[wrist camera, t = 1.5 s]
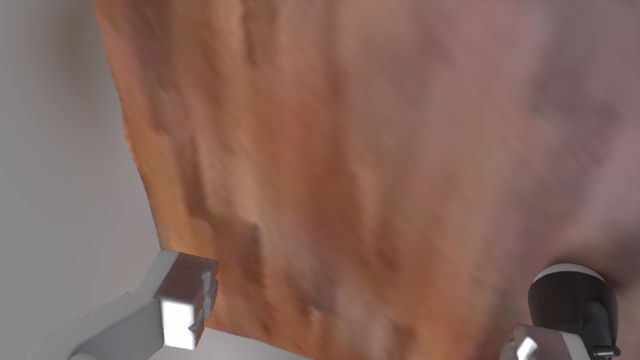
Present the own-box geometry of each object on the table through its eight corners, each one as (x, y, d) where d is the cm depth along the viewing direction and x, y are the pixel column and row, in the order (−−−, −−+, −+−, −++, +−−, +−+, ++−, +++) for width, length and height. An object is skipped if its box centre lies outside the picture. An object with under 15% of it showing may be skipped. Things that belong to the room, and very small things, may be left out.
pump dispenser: (632, 278, 57) (662, 385, 46) (570, 314, 64) (582, 414, 53) (566, 238, 57) (579, 335, 46) (511, 277, 64) (510, 370, 53)
